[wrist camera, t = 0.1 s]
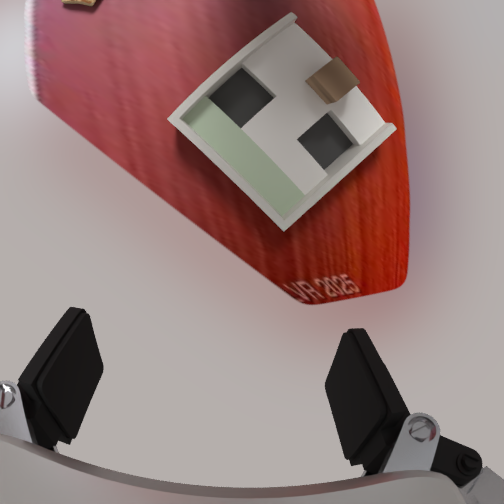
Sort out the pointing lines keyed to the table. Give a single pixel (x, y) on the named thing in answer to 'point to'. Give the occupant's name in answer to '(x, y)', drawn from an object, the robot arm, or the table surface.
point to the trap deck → (279, 123)
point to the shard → (80, 2)
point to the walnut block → (332, 81)
